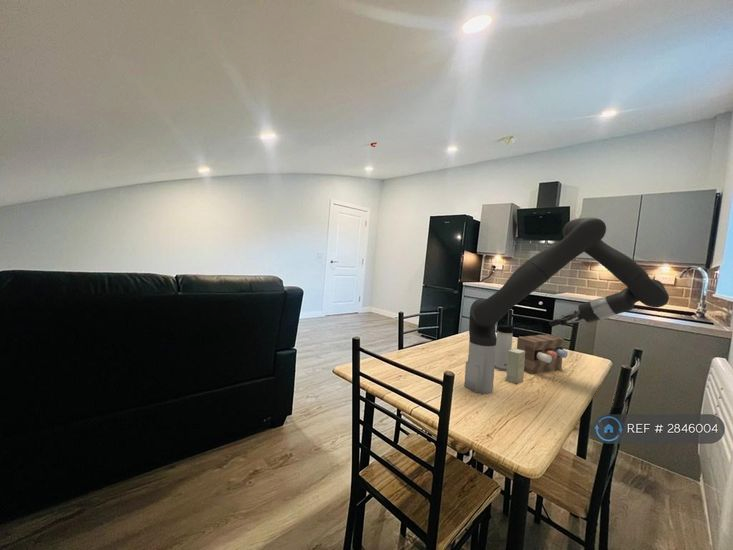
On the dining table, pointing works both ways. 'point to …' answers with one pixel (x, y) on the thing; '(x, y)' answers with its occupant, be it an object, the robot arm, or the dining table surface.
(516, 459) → the dining table surface
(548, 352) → the red key
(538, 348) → the box
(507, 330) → the travel mug
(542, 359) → the white key
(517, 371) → the skincare box
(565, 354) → the blue key
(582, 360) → the dining table surface
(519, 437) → the dining table surface
